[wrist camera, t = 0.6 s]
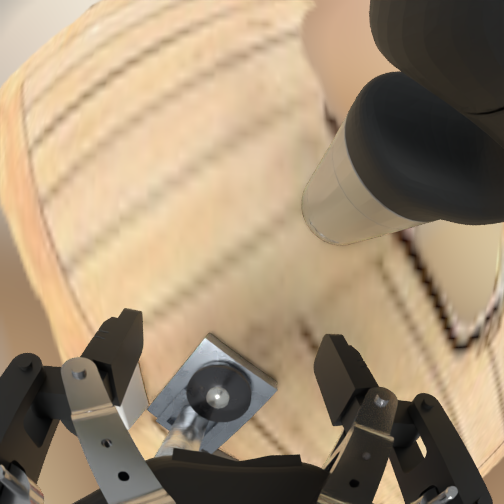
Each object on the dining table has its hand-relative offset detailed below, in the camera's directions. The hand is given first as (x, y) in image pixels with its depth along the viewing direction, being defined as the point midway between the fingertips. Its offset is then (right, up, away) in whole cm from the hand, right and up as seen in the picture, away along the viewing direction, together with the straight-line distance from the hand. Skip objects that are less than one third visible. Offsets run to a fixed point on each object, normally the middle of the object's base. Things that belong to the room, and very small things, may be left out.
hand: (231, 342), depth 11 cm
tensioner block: (-4, -14, +19) cm, 24 cm away
